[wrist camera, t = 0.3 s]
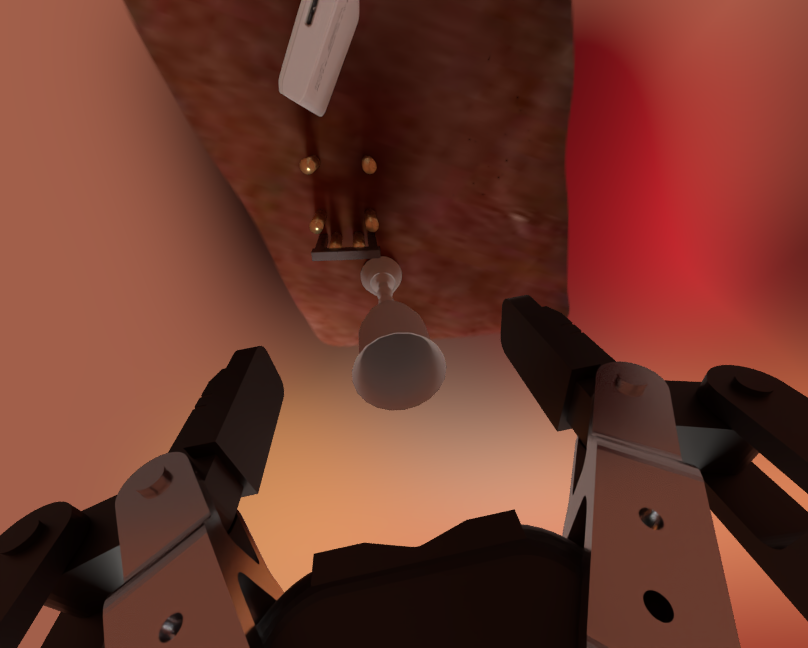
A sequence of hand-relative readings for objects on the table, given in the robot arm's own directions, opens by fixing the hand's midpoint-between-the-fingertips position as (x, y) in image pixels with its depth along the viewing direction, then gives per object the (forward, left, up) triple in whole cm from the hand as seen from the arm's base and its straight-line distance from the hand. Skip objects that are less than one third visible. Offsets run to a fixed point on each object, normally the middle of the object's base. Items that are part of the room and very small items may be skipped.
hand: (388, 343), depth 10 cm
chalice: (+9, +1, -26) cm, 27 cm away
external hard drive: (-11, -2, -26) cm, 29 cm away
